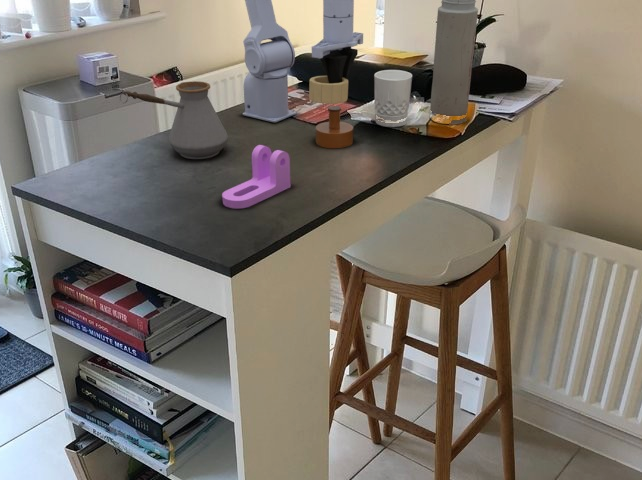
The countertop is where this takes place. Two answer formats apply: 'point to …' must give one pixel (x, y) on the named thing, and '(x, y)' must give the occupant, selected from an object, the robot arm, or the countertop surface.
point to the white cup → (392, 96)
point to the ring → (327, 90)
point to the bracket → (261, 179)
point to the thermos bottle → (453, 58)
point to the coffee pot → (192, 121)
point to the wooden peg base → (334, 131)
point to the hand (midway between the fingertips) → (337, 88)
